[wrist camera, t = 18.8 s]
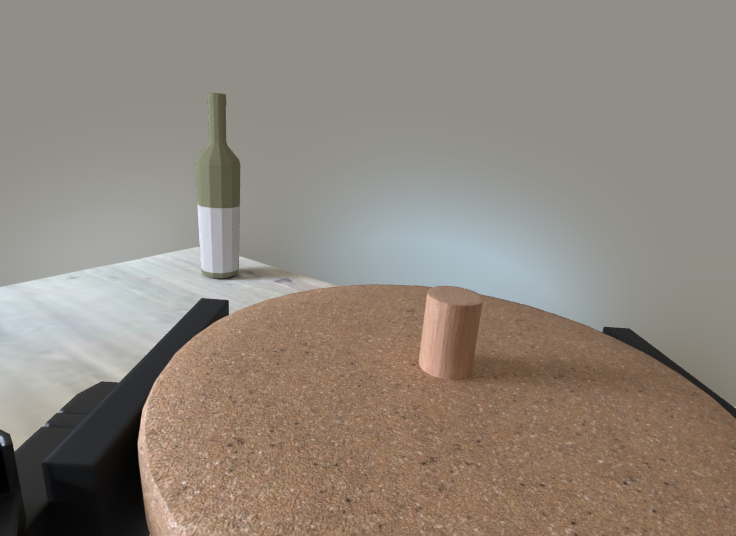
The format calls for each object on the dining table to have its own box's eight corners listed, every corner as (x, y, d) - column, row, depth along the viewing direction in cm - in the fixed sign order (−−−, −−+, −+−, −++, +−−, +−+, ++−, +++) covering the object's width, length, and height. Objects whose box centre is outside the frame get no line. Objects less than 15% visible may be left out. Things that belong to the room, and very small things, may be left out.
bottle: (190, 274, 79) (183, 90, 70) (224, 266, 84) (221, 95, 75) (216, 284, 75) (211, 91, 66) (249, 275, 80) (249, 96, 71)
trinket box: (544, 499, 16) (604, 247, 13) (831, 1135, 6) (1328, 617, 3) (247, 475, 16) (247, 217, 13) (18, 1070, 6) (-177, 495, 3)
